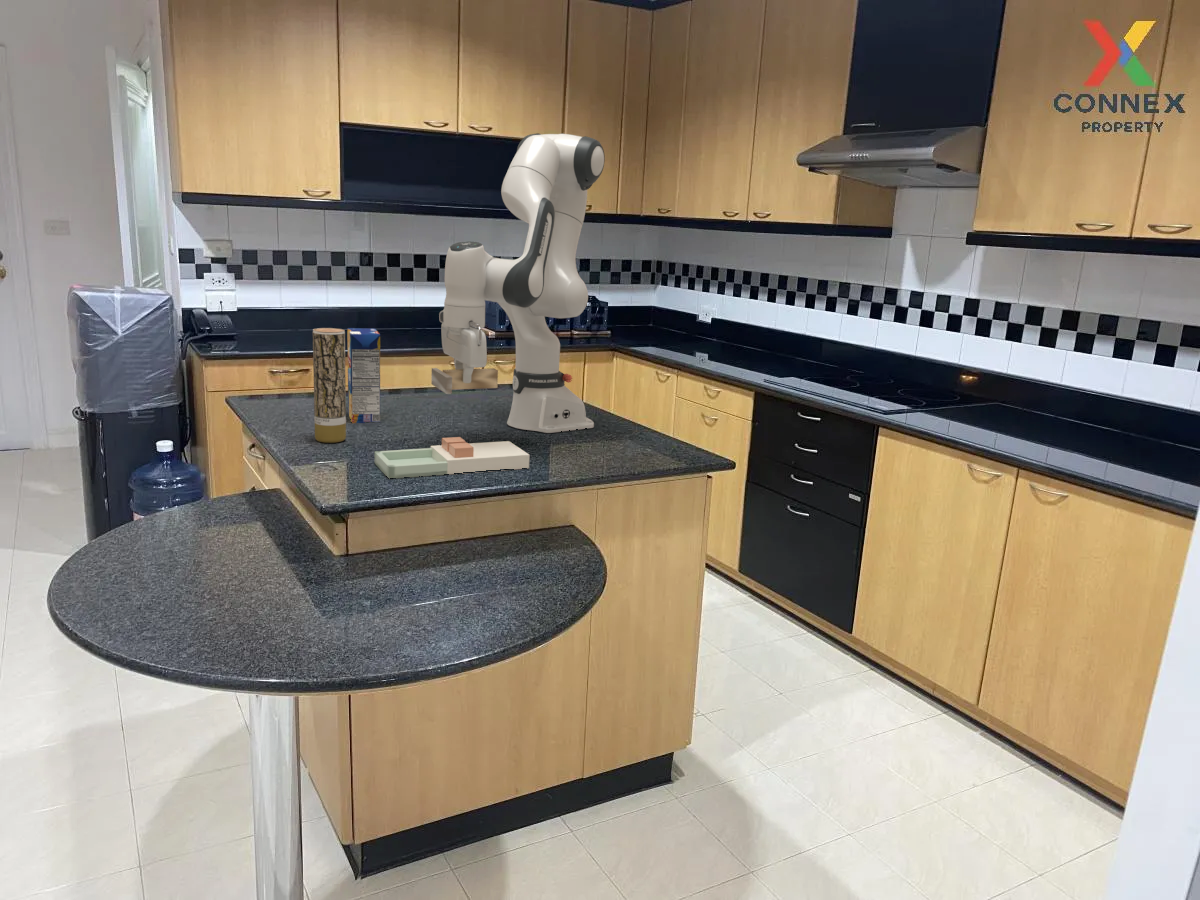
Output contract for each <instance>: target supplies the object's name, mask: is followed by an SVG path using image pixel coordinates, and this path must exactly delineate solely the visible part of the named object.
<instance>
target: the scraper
mask: <svg viewBox="0 0 1200 900" xmlns="http://www.w3.org/2000/svg"><path fill="white" fill-rule="evenodd" d="M462 374H463V369H442V370H441V369H439V368H438V367H434V368H433V367H431V385H432V386H433V387H435V388H437V389H438V390H439V391H441V392H442V393H444V394H446V395H451V394H452V393H453V390H473V389H474V390H476V389H477V390H478V389H481V390H482V389H498V383H499V382H498V380H499V378H498V377H499V375H498V374H499V370H498V369H496V368H474V369H473V372H472V375H471V382H470V383H464V382H462V380H461V379H462Z"/></svg>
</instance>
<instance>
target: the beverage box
mask: <svg viewBox="0 0 1200 900" xmlns="http://www.w3.org/2000/svg"><path fill="white" fill-rule="evenodd" d="M346 330H347V407H348V409H347V414H348V417H349V420H350V419H351V420H350V422H352V423H351V424H366V423H365V422H380V423H381V333H380V332H379V331H378V330H377V329H376V328H366V327H365V328H364V327H363V328H359V327H357V328H355V327H348V328H346Z"/></svg>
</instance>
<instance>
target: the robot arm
mask: <svg viewBox="0 0 1200 900" xmlns="http://www.w3.org/2000/svg"><path fill="white" fill-rule="evenodd" d="M605 156H606V155H605V150H604V147H603V146H602V143H601V142H600V141H599V140H597V139H595V138H593V137H589V136H580V135H575V134H569V133H545V134H543V133H538V132H537V133H531V134H528V135H525V136H524V137H522V139H521V140H520V142H519V144H518V146H517V148H516V153H515V154H514V157H513V158H512V161H511V162H510V164H509V167H508V169H507V172H506V174H505V176H504V177H503V181H502V184H501V189H500V190H501V191H500V192H501V199H502V202H503V203H504V206H505V207H506V209H508V210H509V211H510V213H511V214H512V215H513V216H515V217H516V218H517V219H519V220H520V221H522V222H525V223H527V224H528V230H527V234H526V235H527V236H526V238H525V244H524V248H523V253H522V255H521V256H520V257H518V258H516V259H509V258H508V259H507V258H499V257H494V255H493V256H492V255H491V254H489V253H488V252H487V251H485V248H484V245H483V244H482V243H480V242H478V241H461V242H460V241H459V242H455V243H453V244H451V245H450V246H449V247H448V250H447V253H446V258H445V262H444V263H445V265H444V266H445V267H444V287H445V292H446V294H445V299H444V303H443V304H444V307H443V310H441V311H440V312H439V313H438V315H439V316H438V317H439V322H440V323H441V325H440V326H441V329H440V330H441V346H442V351H443V354H445V355H447V356H449V357H451V358H453V363H454V368H455V369H463V374H462V379H461V380H462V382H464V383H470V382H471V375H472V372H473V369H480V368H486V365H487V362H488V358H487V357H488V354H487V350H488V348H487V337H486V333H485V332H484V331H483V328H485V326H486V301H487V302H493V303H497V304H498V305H499V306H500V308H501V309H502V310H503V311H504V312H505V314H506V316H507V317H508V319H509V321H510V324H511V325H512V326H511V327H512V329H513V332H514V334H513V335H514V339H515V368H514V369H513V377H512V391H513V395H512V403H511V407H510V412H509V416H508V418H507V421H506V424H507V425H508V426H509V427H512V428H515V429H519V430H525V431H526V430H527V431H535V432H540V433H545V434H546V433H547V434H551V433H560V432H561V431H562V432H569V430H570V431H577V430H576V429H578V430H584V429H585V428H587V429H593V428H594V427H595V422H594V421H593V420H592V419H591V418H588V417H587V414H586V407H585V404H584V402H583V400H582V399H581V398H580V397H579V396H578V395H576V394H575V393H574V392H573V391H572V390H571V389H569V388H568V387H567V386H566V385H565V384H566V383H572V381H573V376H572V375H571V374H569V373H563V372H562V371H561V370H560V360H561V359H560V355H561V353H560V352H561V343H560V340H559V337H558V336H557V335H556V334H555V333H553V331H551V329H550V328H549V326H548V324H547V322H546V317H548V318H553V319H554V318H555V319H568V318H570V319H571V318H576V317H579V316H580V315H581V314H582V313H584V310H585V309H586V307H587V305H588V301H589V291H588V287H587V285H586V283H585V282H584V280H583V279H582V278H581V276H580V274H579V272H578V268H577V262H576V255H577V254H576V253H577V248H578V246H579V245H578V244H579V240H580V236H581V231H582V228H583V224H584V221H585V215H586V210H587V202H588V190H589V189H590V188H592V186H593V185H594V183H596V182H597V180H598V179H599V178H600V176H601V174H602V173H603V171H604V166H605V161H606V160H605V159H606V158H605ZM455 369H454V370H455ZM565 382H566V383H565ZM585 430H586V429H585ZM562 432H561V433H562Z"/></svg>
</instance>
